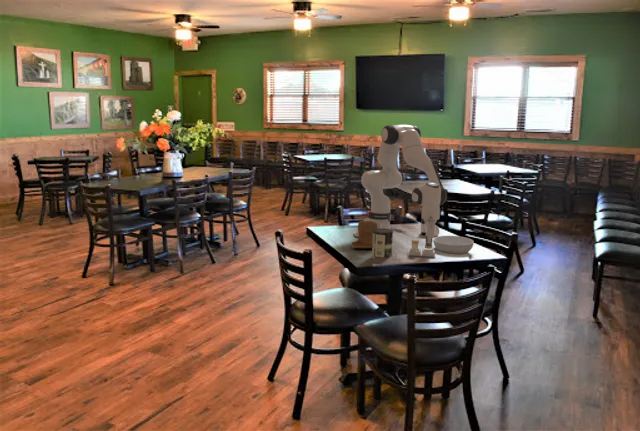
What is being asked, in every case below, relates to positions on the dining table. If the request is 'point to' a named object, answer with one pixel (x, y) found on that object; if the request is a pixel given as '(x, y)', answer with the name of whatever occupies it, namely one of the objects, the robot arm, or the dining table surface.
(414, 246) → the fuse
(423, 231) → the spread jar
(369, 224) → the wooden napkin holder
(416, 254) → the fuse block
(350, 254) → the dining table surface
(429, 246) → the fuse
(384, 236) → the coffee can
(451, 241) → the serving bowl
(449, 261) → the dining table surface
